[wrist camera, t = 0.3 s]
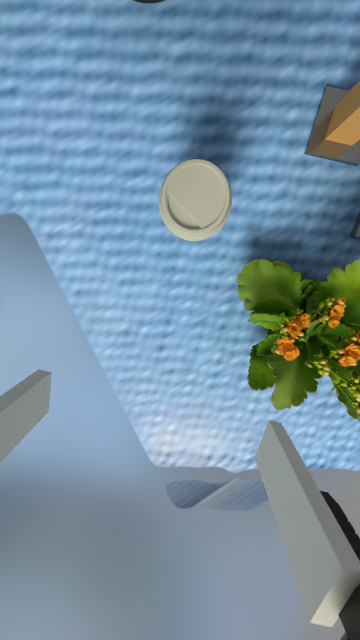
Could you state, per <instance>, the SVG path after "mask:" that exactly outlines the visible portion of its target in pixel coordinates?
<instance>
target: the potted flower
mask: <svg viewBox="0 0 360 640" xmlns="http://www.w3.org/2000/svg"><path fill="white" fill-rule="evenodd" d="M301 277H302V276H301V274H300V273H299V272H295V271H294V270H293V269H292V267H291V266H290V265H289V264H288V263H287V262H284V261H283V262H282V261H281V260H276V261H273V262H271V261H268V260H267V259H260V260H259V259H256V260H253V261H251V262H249V263H248V264H247V265H246V266H244V267H243V269H242V270H241V273H240V274H239V275H238V278H237V283H238V284H240V285H239V286H238V287H237V290H238V293H239V294H240V297H239V298H240V299H241V300H243V301H245V303H244V306H245V310H250V311H254V312H252V313H251V314H250V320H248V321H254V322H253V324H255V323H256V324H257V323H258V326H262V327H265V329H271V330H269V332H268V333H267V335H268V336H267V337H266V338H264V340H263V341H262V342H260V343H258V344H256V345H254V346H252V348H253V349H251V353H250V357H251V359H250V365H251V366H250V367H249V370H248V373H249V374H248V377H247V379H248V380H249V382H248V384H249V386H250V388H251V389H252V390H255V391H257V390H258V389H260V390H265V389H267V387H269V388H271V387H273V386H274V383H275V388H274V389H275V391H274V392H273V394H272V398H271V402H273V403H272V404H273V406H274V408H275V409H277V410H283V409H284V408H288V409H290V407H291V402H292V405H293V406H295V407H297V406H299V405H300V404H301V403H302V402H304V400H303V398H304V399H307V394H306V392H309V393H315V392H316V390H317V386H316V385H318V382H317V381H316V380H315V379H320V378H322V376H323V373H324V374H325V375H328V376H329V377H330V378H331V380H332V382H333V384H334V388H333V389H331V391H332V392H333V391H334V389H336V393H337V397H338V399H339V401H340V402H342V403H344V404H345V405H346V407H347V412H348V414H349V415H350V416H351V417H353V418H354V419H357V418H358V419H359V421H360V259H356V260H354V261H353V262H352V263H351V264H347V265H346V266H345V271H343V270H342V269H340V268H333V269H332V270H331V271H330V272H329V275H327V280H328V281H327V280H325V281H323V282H321V281H320V280H317V281H315V280H312V279H310V280H308V279H304V280H302V281H301ZM247 300H248V301H247Z"/></svg>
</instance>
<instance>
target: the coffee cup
mask: <svg viewBox="0 0 360 640" xmlns="http://www.w3.org/2000/svg"><path fill="white" fill-rule="evenodd" d="M231 206H232V192H231V187H230V184H229V181H228V179H227V177H226V176H225V174H224V173H223V172H222V170H221V169H220V168H218V167H217V166H216V165H214V164H213V163H211V162H209V161H206V160H202V159H191V160H187V161H184V162H182V163H180V164H178V165H177V166H176V167H174V168H173V169H172V170H171V171H170V172H169V173H168V175H167V176H166V178H165V179H164V181H163V183H162V186H161V189H160V194H159V210H160V214H161V217H162V219H163V221H164V223H165V225H166V226H167V228H168V229H169V230H170V231H171V232H172V233H173V234H175V235H176V236H178V237H180V238H182V239H185V240H189V241H200V240H204V239H207V238H209V237H211V236H213V235H214V234H216V233H217V232H218V231H219V230H220V229H221V228H222V227H223V226H224V224H225V223H226V221H227V219H228V217H229V214H230V211H231Z"/></svg>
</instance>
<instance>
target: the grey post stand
mask: <svg viewBox="0 0 360 640" xmlns="http://www.w3.org/2000/svg"><path fill="white" fill-rule="evenodd" d="M351 237H354V238H359V239H360V214H359V217H358V220H357V222H356V225H355V227H354V230H353V233H352V235H351Z"/></svg>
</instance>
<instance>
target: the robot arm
mask: <svg viewBox="0 0 360 640" xmlns="http://www.w3.org/2000/svg"><path fill="white" fill-rule="evenodd" d="M134 1H138V2H142V3H157V2H161V1H164V0H134ZM50 384H51V372H47V371H43V370H37V371H36V372H34V373H33V374H32V375H30V376H29V377H27V378H26V379H25V380H23V381H22V382H20V383H19V384H17V385H16V386H14V387H13V388H12V389H10V390H9V391H7V392H6V393H5V394H3V395H2V396H0V462H1V461H2V460H3V459H4V458H5V457H6V456H7V455H8V454H9V453H10V451H11V450H12V449H13V448H14V447H15V446H16V445H17V444H18V443H19V442H20V441H21V440H22V439H23V438H24V437H25V436H26V435H27V434H28V433H29V432H30V431H31V429H32V428H33V427H34V426H35V425H36V424H37V423H38V422H39V421H40V420H41V419H42V418H43V417H44V416H45V415H46V413H48V410H49V409H48V408H49V397H50ZM255 459H256V462H257V465H258V468H259V471H260V474H261V477H262V480H263V483H264V486H265V489H266V492H267V495H268V498H269V501H270V504H271V507H272V510H273V513H274V516H275V519H276V522H277V525H278V528H279V531H280V534H281V537H282V540H283V543H284V546H285V549H286V552H287V555H288V558H289V561H290V564H291V567H292V570H293V573H294V576H295V579H296V582H297V586H298V589H299V592H300V595H301V598H302V600H303V604H304V607H305V610H306V612H307V616H308V619H309V622H310V623H315V624H319V625H324V626H328V627H332V626H333V625H334V623H335V621H336V620H337V618H338V617H340V619H341V622H342V624H343V626H344V629H345V631H346V632H345V633H344V635H343V636H342V638H341V640H360V538H359V537H358V535H357V534H355V530H354V529H353V527H352V525H351V524H350V522H348V519H347V517H346V515H345V514H344V512H343V511H342V509H341V507H340V506H339V504H338V503H337V502H336V501H335V500H334V499H333V498H332V497H331V496H330V495H329V493H328V492H323V491H320V490H319V489H318V487H317V485H316V483H315V482H314V480H313V478H312V476H311V475H310V473H309V471H308V469H307V468H306V466H305V464H304V462H303V461H302V459H301V457H300V455H299V453H298V452H297V450H296V448H295V446H294V445H293V443H292V441H291V439H290V438H289V436H288V434H287V432H286V431H285V429H284V427H283V425H282V424H281V423H278V422H274V421H268V424H267V427H266V429H265V432H264V434H263V437H262V440H261V442H260V445H259V448H258V450H257V453H256V456H255Z"/></svg>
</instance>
